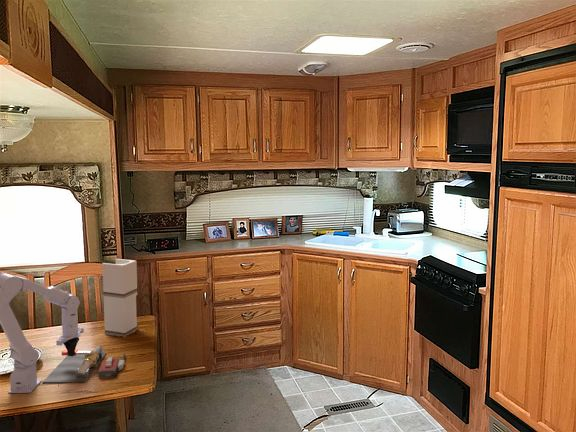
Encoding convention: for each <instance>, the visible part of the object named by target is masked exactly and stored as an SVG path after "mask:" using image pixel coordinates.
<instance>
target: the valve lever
mask: <svg viewBox="0 0 576 432" xmlns="http://www.w3.org/2000/svg"><path fill="white" fill-rule="evenodd" d="M77 354H87V355H93V354H94V350H78V349H75V355H74V356H76V355H77ZM67 355H68V353H67V349H63V350H62V351H61V356H67Z"/></svg>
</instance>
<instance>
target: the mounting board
mask: <svg viewBox="0 0 576 432" xmlns="http://www.w3.org/2000/svg"><path fill="white" fill-rule="evenodd" d="M84 355H85V354H77V355H76V356H73V357H72V356H68V355H65V356H66V357H64V358H63V360H61V362H60V363H58V365H57V366H56V367H55V368H53V370H52V371H51V372H50V374H48V375H47V376H46V377H45V379H44V380H42V384H85V383H86V382H87V380H88V379H89V377H91V375H92V374H93V372H94V370H95V369H96V368H97V367H98V365H99V364H100V363H101V361H103V360H104V359H103V358H105V356H106V355H107V353H106V352H104V356H103V357H102V358H98V360H97V361H96V364H97V366H96V367H94V368H91V369H89V376H88V377H87V378H76V371H77V370H78V369H79V368H80V367H81V366H82V362H83V361H84V360H85V357H84Z"/></svg>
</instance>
